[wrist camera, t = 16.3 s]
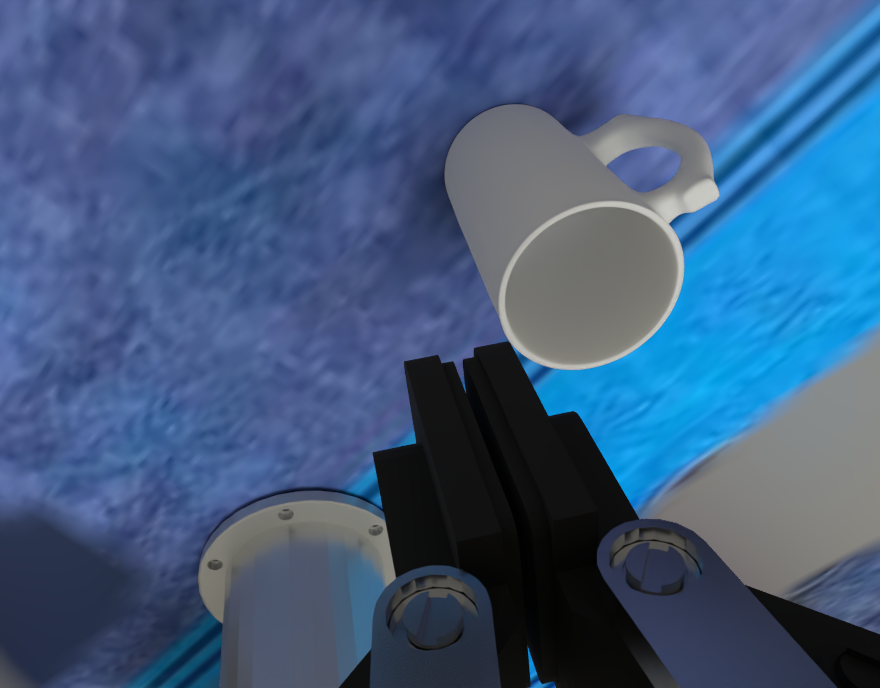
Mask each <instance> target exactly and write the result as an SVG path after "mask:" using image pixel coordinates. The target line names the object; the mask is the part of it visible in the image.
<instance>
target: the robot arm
mask: <svg viewBox="0 0 880 688" xmlns="http://www.w3.org/2000/svg"><path fill="white" fill-rule="evenodd" d="M404 368H405V375H406V381H407V387H408V393H409V400H410V406H411V412H412V419H413V425H414V431H415V437H416V444H411V445H406V446H401V447H396V448H392V449H387V450H382V451H377V452H373V457H374V463H375V468H376V474H377V479H378V484H379V490H380V495H381V501H382V506H383V511H384V512H383V511H381V510H380V509H378V508H377V507H376V506H374V505H372V504H370V503H368V502H366V501H364V500H362V499H359V498H357V497H353V496H349V495H346V494H342V493H336V492H327V491H297V492H291V493H285V494H280V495H275V496H272V497H269V498H266V499H263V500H260V501H257V502H255V503H253V504H251V505H249V506H247V507H245V508H243V509H241V510H239V511H238V512H236V513H235V514H234V515H232V516H231V517H229V518H228V519H227V520H225V521H224V522H223V523H222V524H221V525H220V526H219V527H218V528H217V529H216V530H215V531H214V532H213V534H212V535H211V537H210V538H209V540H208V542H207V543H206V545H205V546H204V548H203V552H202V555H201V558H200V562H199V573H198V584H199V592H200V595H201V597H202V600H203V602H204V604H205V606H206V608H207V609H208V610H209V611H210V613H211V614H212V615H213V616H214V618H216V619H217V620H218V621H219V622H221V623H222V624H223V629H222V647H221V666H220V684H219V688H528V687H530V671H529V659H528V648H529V651H530V654H531V657H532V660H533V663H534V666H535V669H536V672H537V675H538V677H539V680H540V682H541V683H542V684H544V683H549V682H553V681H554V683H555V685H556V688H880V634H877V633H875V632H872V631H869V630H866V629H864V628H861V627H858V626H855V625H853V624H850V623H847V622H845V621H842V620H839V619H836V618H834V617H831V616H828V615H826V614H823V613H820V612H817V611H815V610H812V609H809V608H806V607H804V606H801V605H798V604H796V603H793V602H790V601H787V600H785V599H782V598H779V597H777V596H774V595H771V594H768V593H766V592H763V591H760V590H757V589H754V588H752V587H749V586H746V585H744V584H743V582H742V581H741V580H740V579H739V578H738V577H737V576H736V575H735V574H734V572H733V571H732V570H731V569H730V568H729V567H728V566H727V565H726V564H725V563H724V561H723V560H722V559H721V558H720V557H719V556H718V555H717V554H716V552H715V551H714V550H713V549H712V548H711V547H710V546H709V545H708V544H707V543H706V541H704V540H703V539H702V538H701V537H700V536H698V535H697V534H696V533H695V532H694V531H692V530H690V529H688V528H686V527H684V526H682V525H680V524H678V523H674V522H670V521H666V520H661V519H639V518H638V516H637V514H636V512H635V511H634V509H633V507H632V506H631V504H630V502H629V500H628V499H627V497H626V495H625V494H624V492H623V490H622V488H621V487H620V485H619V483H618V481H617V480H616V478H615V476H614V475H613V473H612V471H611V469H610V468H609V466H608V464H607V462H606V461H605V459H604V457H603V456H602V454H601V452H600V450H599V449H598V447H597V445H596V443H595V442H594V440H593V438H592V437H591V435H590V433H589V431H588V430H587V428H586V426H585V424H584V423H583V421H582V419H581V418H580V416H579V415H578V414H577V413H576V412H574V411H572V412H567V413H562V414H557V415H552V416H548V414H547V413H546V411H545V409H544V407H543V405H542V403H541V401H540V399H539V397H538V395H537V393H536V391H535V390H534V388H533V386H532V384H531V382H530V380H529V378H528V376H527V374H526V372H525V370H524V368H523V367H522V365H521V363H520V361H519V359H518V357H517V355H516V353H515V351H514V349H513V347H512V346H511V344H510V342H508V341H507V342H502V343H497V344H492V345H487V346H481V347H476V348H474V357H472V358H467V359H463V371H464V380H465V389H466V393H465V390H464V388H463V385H462V382H461V380H460V377H459V375H458V372H457V369H456V367H455V364H454V362H453V361H452V362H447V363H442V364H441V361H440V358H439V356H438V355H435V356H430V357H425V358H420V359H415V360H409V361H404ZM527 645H528V646H527Z"/></svg>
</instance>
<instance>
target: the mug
mask: <svg viewBox="0 0 880 688" xmlns="http://www.w3.org/2000/svg"><path fill="white" fill-rule="evenodd" d="M649 146H658V147H663V148H667V149H669V150H672V151H674V152H676V153H677V154H678V155H679V156H680V158H681V163H680V167H679V169H678V172H677V173H676V174H675V176H674V177H673V178H672V179H671V180H670V181H668V182H667V183H666V184H664V185H663V186H661V187H659V188H657V189H655V190H653V191H650V192H644V193H639V192H637V191H635V190H632V189H631V188H629V187H628V186H627V185H626V184H625V183H624V182H622V181H621V180H620V179H619V178H618V177H617V176H616V175H615V174H614V173H613V172H612V171H611V170H609V169H608V168H607V167H606V166H607V165H608V164H609V163H610V162H611V161H612V160H614V159H615V158H617V157H618V156H620V155H621V154H623V153H625V152H628V151H630V150H633V149H637V148H642V147H649ZM444 175H445V186H446V190H447V193H448V196H449V199H450V201H451V204H452V207H453V209H454V212H455V215H456V218H457V220H458V223H459V225H460V227H461V230H462V232H463V234H464V237H465V239H466V241H467V244H468V246H469V248H470V251H471V253H472V256H473V258H474V260H475V263H476V265H477V268H478V270H479V273H480V275H481V277H482V280H483V282H484V285H485V287H486V289H487V292H488V294H489V297H490V299H491V301H492V304H493V306H494V308H495V310H496V312H497V314H498V315H499V317H500V321H501V325H502V328H503V330H504V332H505V334H506V336H507V338H508V340H509V341H510V343H511V344H512V345H513V346H514V347H515V348H516V349H517V350H518V351H519V352H520V353H521V354H523V355H524V356H525V357H527V358H529V359H530V360H532V361H534V362H536V363H538V364H541V365H544V366H547V367H551V368H556V369H564V370H578V369H587V368H593V367H597V366H601V365H604V364H607V363H610V362H612V361H615V360H617V359H619V358H621V357H623V356H625V355H627V354H629V353H630V352H632V351H634V350H635V349H637V348H638V347H639V346H641V345H642V344H643V343H645V342H646V341H647V340H648V339H649V338H650V337H651V336H652V335H653V334H654V333H655V332H656V331H657V330H658V329H659V328H660V327H661V325H662V324H663V323H664V322H665V320H666V319H667V317H668V316H669V314H670V313H671V311H672V309H673V307H674V305H675V303H676V301H677V299H678V296H679V293H680V290H681V287H682V282H683V276H684V257H683V251H682V247H681V244H680V241H679V239H678V237H677V235H676V233H675V232H674V230H673V229H672V228H671V226H670V225H669V223H670V222H671V221H672V220H673V219H674V218H675V217H677V216H678V215H680V214H682V213H689V212H690V213H692V212H695V211H697V210H699V209H701V208H702V207H704V206H706V205H707V204H709V203H711V202H713V201H715V200H716V199H718V197H719V190H718V188H717V186H716V184H715V182H714V174H713V163H712V157H711V153H710V150H709V148H708V145H707V144H706V142H705V140H704V139H703V138H702V136H701V135H700V134H699V133H698V132H696V131H695V130H693V129H692V128H690V127H688V126H685V125H683V124H680V123H678V122H674V121H670V120H665V119H659V118H651V117H644V116H636V115H628V114H620V115H617V116H615V117H614V118H612V119H611V120H609V121H608V122H606V123H605V124H604V125H602V126H601V127H599V128H597V129H596V130H594V131H592V132H590V133H588V134H585V135H582V136H577V135H574V134H572V133H571V132H569V131H568V130H567V129H566V128H565V127H563V126H562V125H561V124H560V123H559V122H558V121H557V120H556V119H555V118H554V117H552V116H551V115H550V114H548V113H546V112H545V111H543V110H541V109H538V108H536V107H533V106H529V105H522V104H508V105H502V106H498V107H495V108H492V109H489V110H487V111H485V112H483V113H481V114H479V115H478V116H476V117H475V118H473V119H472V120H471V121H470V122H469V123H467V124H466V125H465V126H464V127H463V129H462V130H461V131H460V132H459V133H458V135H457V136H456V138H455V139H454V141H453V143H452V145H451V147H450V149H449V152H448V155H447V159H446V163H445V174H444Z"/></svg>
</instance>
